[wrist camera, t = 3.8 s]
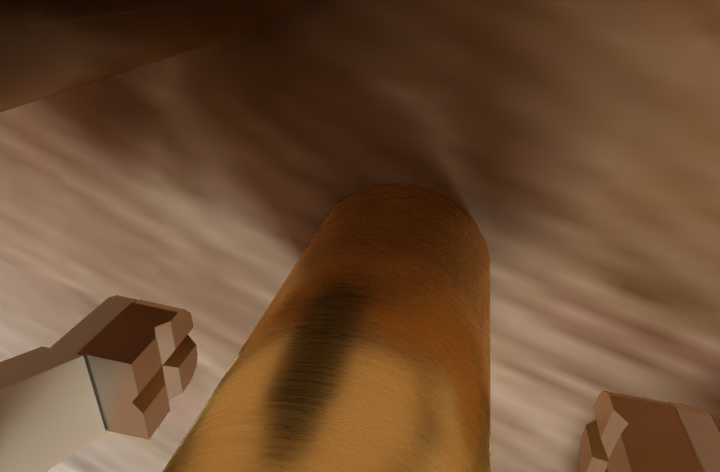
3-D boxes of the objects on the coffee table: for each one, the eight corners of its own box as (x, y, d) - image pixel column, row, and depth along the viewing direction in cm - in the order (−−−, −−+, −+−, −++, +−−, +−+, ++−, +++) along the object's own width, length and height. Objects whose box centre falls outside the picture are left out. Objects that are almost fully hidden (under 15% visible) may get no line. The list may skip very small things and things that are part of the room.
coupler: (317, 171, 11) (73, 465, 4) (507, 199, 10) (538, 593, 4) (314, 317, 13) (144, 660, 6) (472, 348, 12) (454, 766, 6)
